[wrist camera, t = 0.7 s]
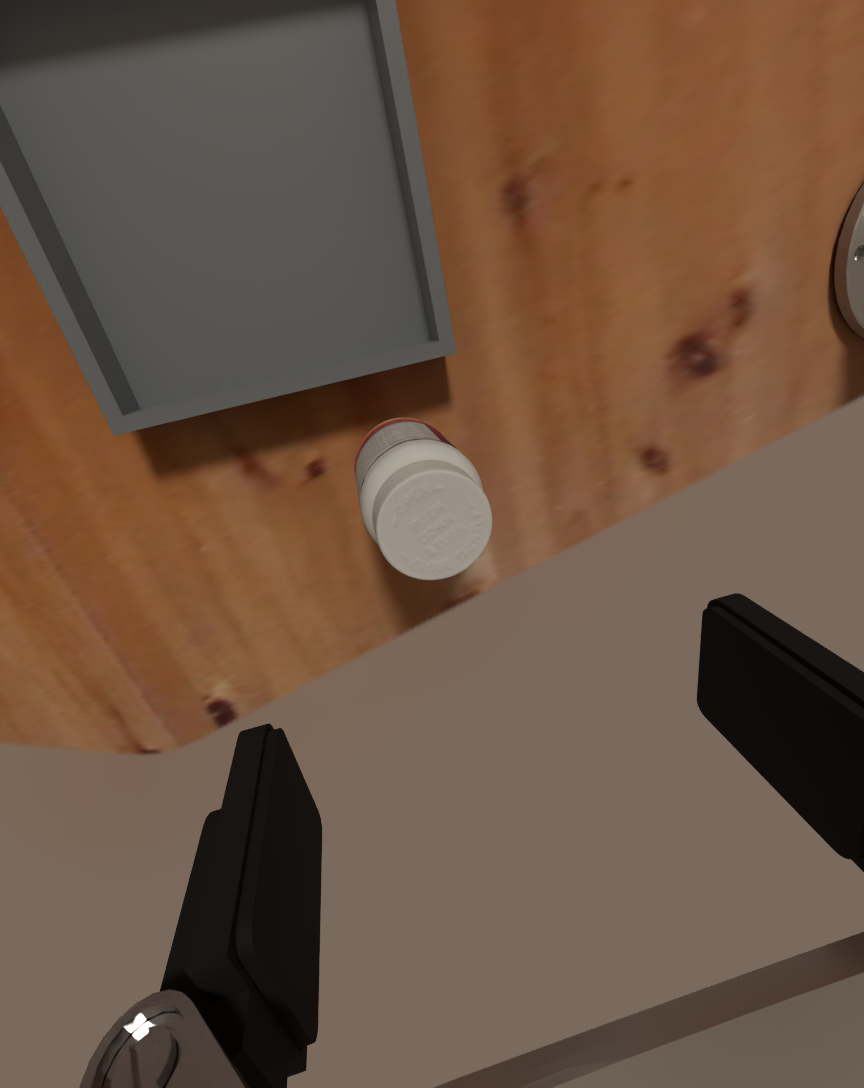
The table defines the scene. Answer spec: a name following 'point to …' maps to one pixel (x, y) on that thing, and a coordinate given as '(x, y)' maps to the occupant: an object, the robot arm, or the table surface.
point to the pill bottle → (421, 500)
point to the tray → (219, 196)
